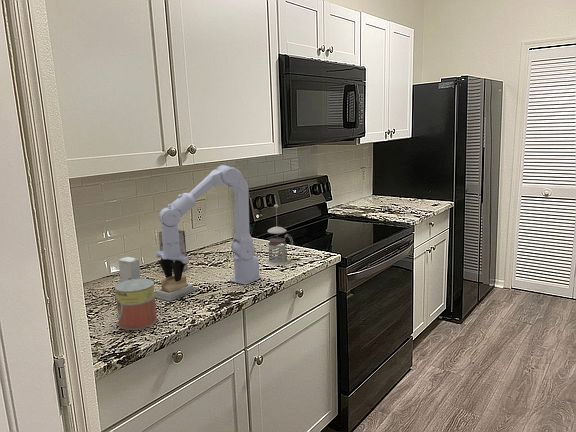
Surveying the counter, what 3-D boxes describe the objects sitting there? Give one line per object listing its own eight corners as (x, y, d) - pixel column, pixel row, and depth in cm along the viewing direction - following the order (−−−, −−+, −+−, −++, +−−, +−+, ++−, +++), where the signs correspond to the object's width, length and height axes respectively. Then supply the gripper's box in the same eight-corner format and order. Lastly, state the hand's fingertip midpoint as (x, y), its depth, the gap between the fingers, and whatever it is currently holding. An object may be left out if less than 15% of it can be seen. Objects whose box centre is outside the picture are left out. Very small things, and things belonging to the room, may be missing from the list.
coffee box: (188, 268, 195) (185, 230, 192) (178, 272, 189) (175, 234, 186) (171, 265, 199) (168, 228, 196) (160, 270, 194) (157, 232, 190)
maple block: (161, 290, 165) (161, 279, 164) (179, 284, 171) (178, 273, 170) (169, 292, 163) (168, 281, 162) (186, 286, 169) (186, 275, 168)
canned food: (115, 319, 146) (111, 282, 143) (151, 311, 151) (148, 276, 149) (122, 333, 136) (118, 294, 134) (161, 324, 142) (158, 286, 139)
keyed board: (179, 284, 176) (179, 279, 175) (199, 289, 170) (198, 284, 170) (149, 296, 164) (149, 291, 164) (169, 302, 159) (168, 296, 158)
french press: (271, 257, 207) (269, 201, 202) (296, 259, 203) (295, 202, 198) (262, 264, 198) (260, 205, 193) (288, 266, 194) (287, 207, 189)
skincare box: (120, 291, 169) (117, 259, 167) (129, 288, 173) (126, 256, 171) (132, 294, 166) (129, 261, 164) (142, 290, 170) (139, 258, 168)
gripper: (147, 242, 164) (151, 279, 167) (176, 247, 156) (179, 286, 159) (163, 237, 170) (166, 273, 173) (192, 243, 162) (194, 280, 165)
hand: (173, 279), depth 166 cm, fingers closed on maple block, 4 cm apart
